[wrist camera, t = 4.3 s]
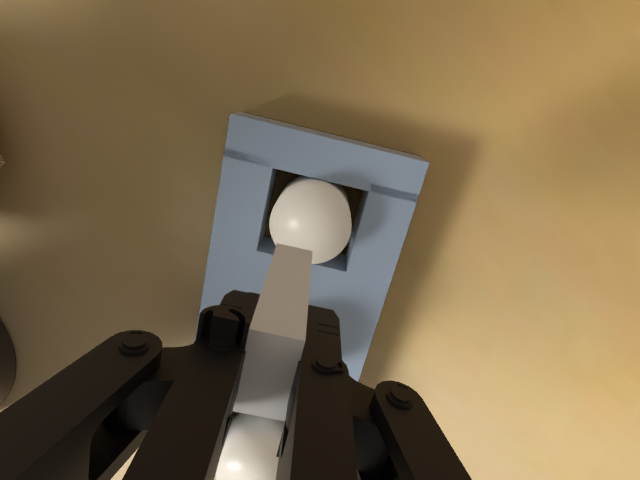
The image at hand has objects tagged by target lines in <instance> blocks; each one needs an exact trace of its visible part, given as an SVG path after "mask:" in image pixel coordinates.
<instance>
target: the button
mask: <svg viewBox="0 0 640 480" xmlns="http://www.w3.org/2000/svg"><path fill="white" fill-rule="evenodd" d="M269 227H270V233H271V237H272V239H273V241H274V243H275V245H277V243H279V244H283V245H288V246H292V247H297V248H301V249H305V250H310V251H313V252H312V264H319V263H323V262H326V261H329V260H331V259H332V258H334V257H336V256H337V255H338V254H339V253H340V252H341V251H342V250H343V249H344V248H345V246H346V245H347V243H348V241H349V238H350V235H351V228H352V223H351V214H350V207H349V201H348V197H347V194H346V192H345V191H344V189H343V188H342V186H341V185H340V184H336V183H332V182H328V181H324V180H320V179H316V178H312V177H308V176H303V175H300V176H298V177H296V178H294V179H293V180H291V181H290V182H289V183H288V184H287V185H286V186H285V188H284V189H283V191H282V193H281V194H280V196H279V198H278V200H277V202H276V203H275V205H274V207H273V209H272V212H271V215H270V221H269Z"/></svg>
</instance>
